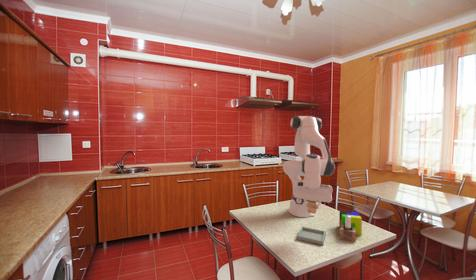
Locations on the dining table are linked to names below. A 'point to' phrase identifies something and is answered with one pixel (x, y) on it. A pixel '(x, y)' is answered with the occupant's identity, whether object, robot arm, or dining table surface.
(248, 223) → the dining table surface
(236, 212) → the dining table surface
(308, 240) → the tray
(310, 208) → the oak block
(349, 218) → the cylinder
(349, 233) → the brown square socket box
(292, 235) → the dining table surface
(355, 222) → the puzzle toy
